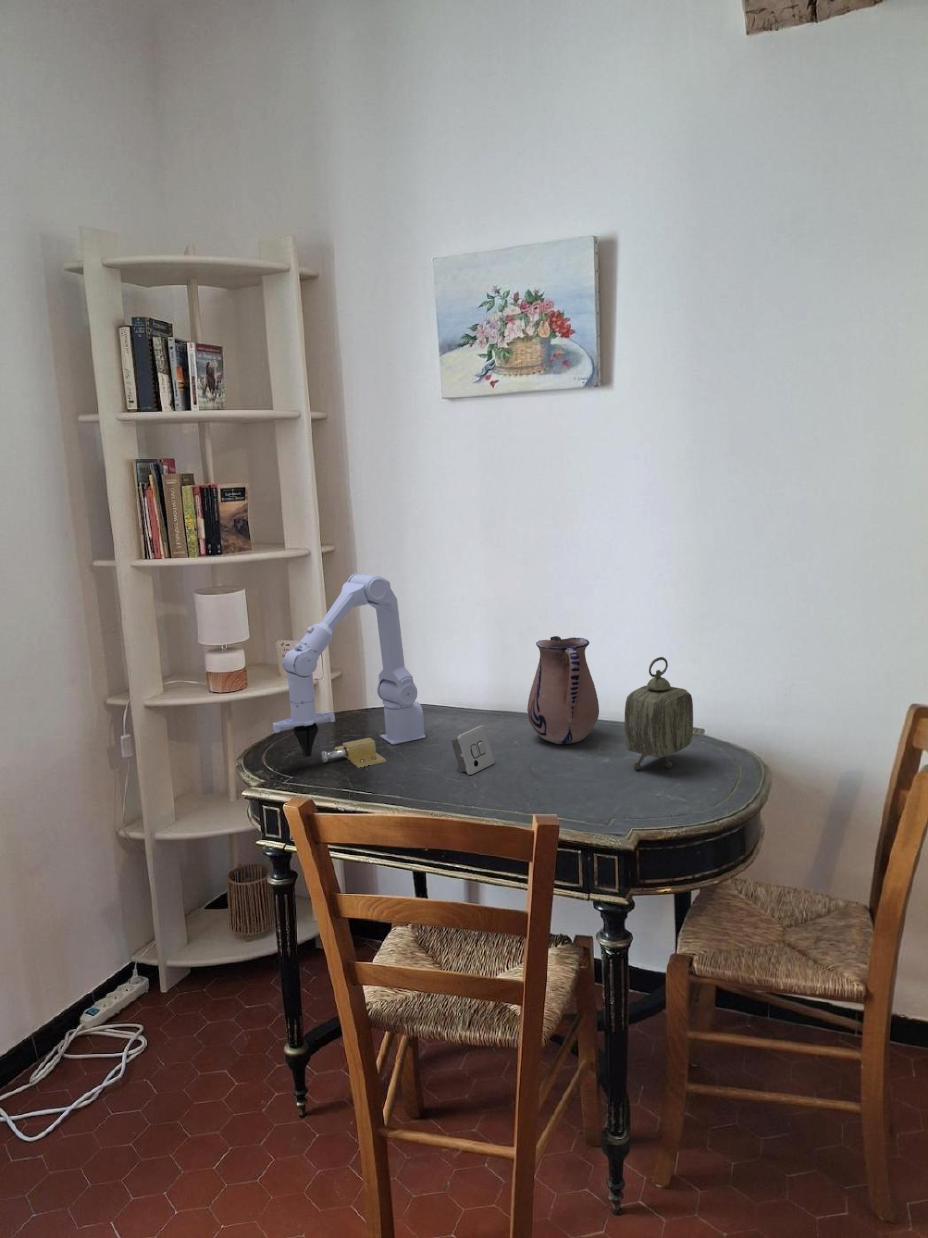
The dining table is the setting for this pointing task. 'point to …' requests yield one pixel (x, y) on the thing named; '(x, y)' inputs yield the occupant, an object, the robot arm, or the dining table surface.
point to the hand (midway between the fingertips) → (307, 755)
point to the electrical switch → (473, 750)
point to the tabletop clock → (658, 718)
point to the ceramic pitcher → (563, 692)
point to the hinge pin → (333, 754)
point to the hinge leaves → (362, 752)
